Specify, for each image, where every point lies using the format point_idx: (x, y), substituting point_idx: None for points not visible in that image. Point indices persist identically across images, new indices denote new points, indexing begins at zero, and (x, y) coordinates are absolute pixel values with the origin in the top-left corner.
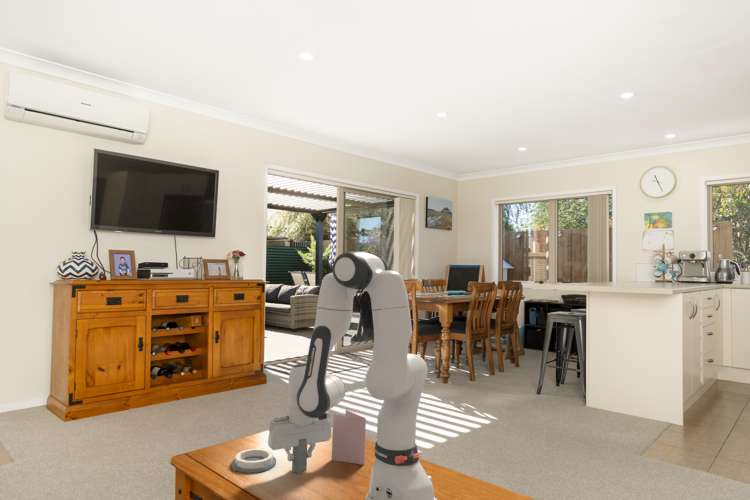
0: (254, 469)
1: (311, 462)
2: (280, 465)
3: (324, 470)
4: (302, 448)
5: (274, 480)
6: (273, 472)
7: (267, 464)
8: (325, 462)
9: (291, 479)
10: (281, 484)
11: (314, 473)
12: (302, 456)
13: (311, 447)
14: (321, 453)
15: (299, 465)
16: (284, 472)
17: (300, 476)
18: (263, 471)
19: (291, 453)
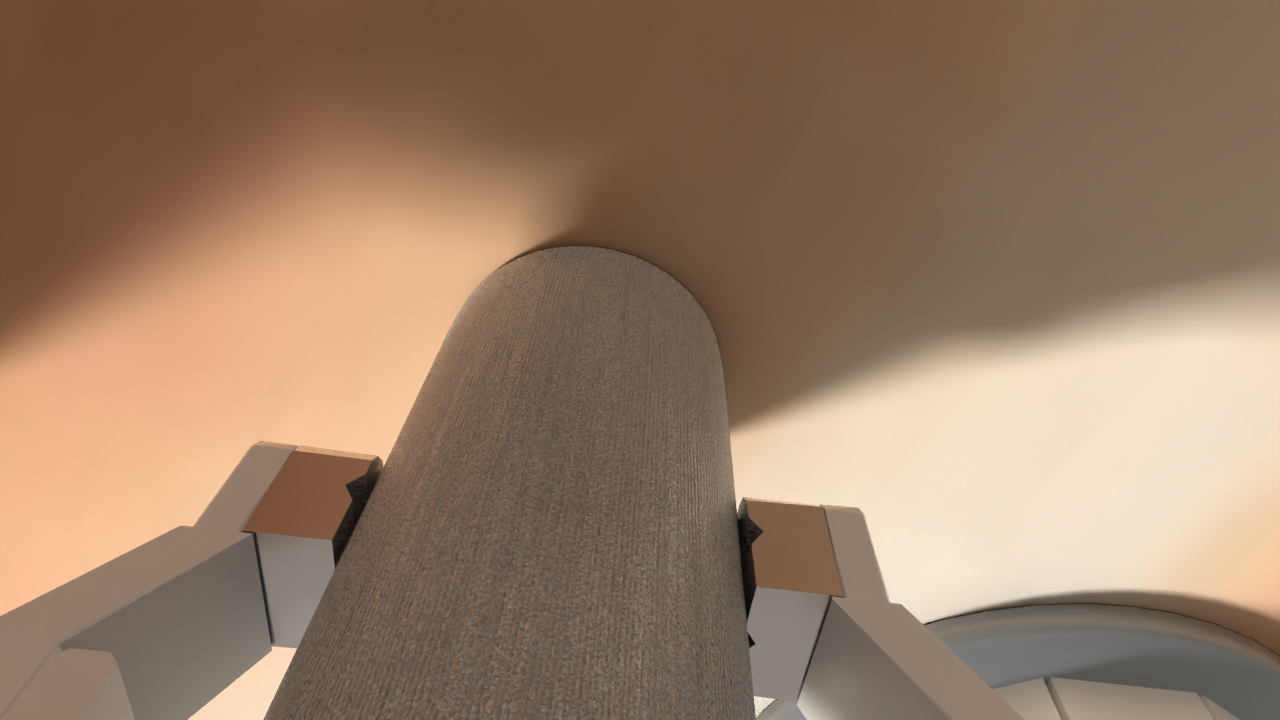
0: (1213, 687)
1: None
2: None
3: (109, 104)
4: (532, 646)
5: (1211, 257)
6: (986, 520)
7: None
8: (6, 398)
9: (933, 108)
10: (1267, 3)
11: (367, 93)
12: (560, 444)
13: (130, 653)
14: None
15: (648, 336)
16: (844, 434)
17: (697, 131)
18: (1090, 608)
19: None
